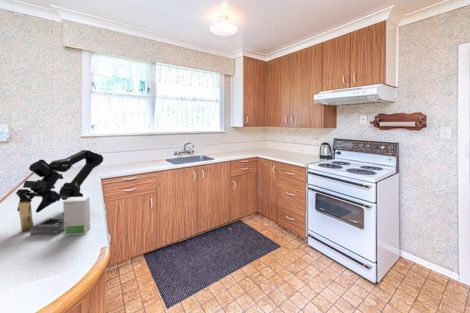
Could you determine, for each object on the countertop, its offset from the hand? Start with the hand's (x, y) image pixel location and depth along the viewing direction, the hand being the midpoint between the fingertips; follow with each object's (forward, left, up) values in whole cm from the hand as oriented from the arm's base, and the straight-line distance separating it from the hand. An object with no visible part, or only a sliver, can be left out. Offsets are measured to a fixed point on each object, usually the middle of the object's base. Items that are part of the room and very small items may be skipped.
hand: (27, 211), depth 100 cm
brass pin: (+1, 0, -8) cm, 9 cm away
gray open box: (+7, +9, -8) cm, 14 cm away
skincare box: (+15, +19, -9) cm, 25 cm away
